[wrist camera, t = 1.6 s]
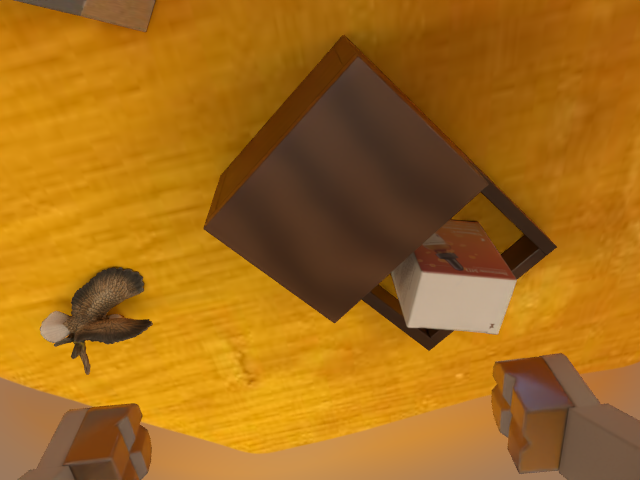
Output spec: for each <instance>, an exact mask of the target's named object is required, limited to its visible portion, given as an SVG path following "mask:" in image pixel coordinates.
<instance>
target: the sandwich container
mask: <svg viewBox="0 0 640 480" xmlns="http://www.w3.org/2000/svg"><path fill="white" fill-rule="evenodd" d="M14 1H19V2H23V3H27V4H32V5H36V6H40V7H44V8H49V9H53V10H57V11H61V12H66V13H70V14H74V15H79V16H83V17H87V18H91V19H95V20H99V21H103V22H107V23H111V24H115V25H119V26H123V27H127V28H131V29H135V30H139V31H143V32H146V30H147V26H148V23H149V20H150V17H151V13H152V10H153V7H154V3H155V0H14Z"/></svg>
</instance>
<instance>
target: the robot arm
mask: <svg viewBox="0 0 640 480" xmlns="http://www.w3.org/2000/svg"><path fill="white" fill-rule="evenodd" d="M493 377H494V379H495V381H496V383H497V385H496V386H495V387H494V388H493V390H492V400H491V402H492V409H493V415H494V417H495V421H496V423H497V426H498V429H499V431H500V432H501V433H502V434H503V435H505V436H506V437H508V450H509V453H510V455H511V457H512V459H513V461H514V464H515V466H516V468H517V470H518V472H519V474H524V473H535V472H547V471H558V470H559V473H560V474H561V475H563V476H564V477H565V478H566V479H567V480H640V421H639V420H637V419H635V418H633V417H632V416H630V415H628V414H626V413H624V412H622V411H620V410H619V409H617V408H615V407H613V406H611V405H609V404H600V402H599V401H598V399H597V398H596V397H595V395H594V394H593V393H592V391H591V390H590V389H589V387H588V386H587V384H586V383H585V382H584V380H583V379H582V377H581V376H580V375H579V373H578V372H577V371H576V369H575V368H574V366H573V365H572V364H571V362H570V361H569V360H568V358H567V357H566V356H565V355H564V354H562V353H559V354H552V355H544V356H539V357H531V358H522V359H514V360H506V361H498V362H495V364H494V367H493ZM141 419H142V413H141V411H140V408H139V406H138V405H137V404H134V403H132V404H121V405H110V406H99V407H91V408H83V409H71V410H69V411H67V412H66V413H65V414H64V415H63V417H62V419H61V421H60V423H59V425H58V427H57V429H56V431H55V433H54V435H53V437H52V439H51V441H50V443H49V445H48V447H47V449H46V451H45V453H44V455H43V457H42V459H41V461H40V463H39V465H38V467H37V469H33V470H29V471H28V472H26V473H25V474H24V475H23V476H21V477H20V478H19V479H18V480H141V479H142V478H143V477H144V476H145V475H146V474H147V473H148V471H149V466H150V463H151V449H152V447H151V440H150V436H149V433H148V430H147V429H145V428H144V427H143V426H141V425H140V422H141Z"/></svg>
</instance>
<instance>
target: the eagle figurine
mask: <svg viewBox="0 0 640 480" xmlns="http://www.w3.org/2000/svg"><path fill="white" fill-rule="evenodd" d="M142 280H143V277H142V276H140V275H139V272H132V270H131V269H125V270H123V268H121V267H120V268H118V269H116V268H115V267H112V268H108V269H107V270H102V271H101V272H99V273H97V275H96V276H95V277H93V278H92V279H90V281H89V282H88V283H86V284H85V285H84V286H83V287H82V288H80V289H79V290H77V291H76V293H75V294H74V297H73V298H72V302H71V304H72V312H71V314H72V316H69V315H66V314H64V313H62V312H59V311H54V312H53V313H51V314H50V315H49V316H48V317H47V318H46V319H45V320H44V321H43V322H42V325H41V327H40V331H41V335H42V336H43V337H44V338H45V339H46V340H47V341H49V342H52V343H55V344H54V346H55V347H56V346H59V345H62V344H65V343H71V342H73V343H74V344H75V346H74V349H73V352H72V355H71V357H72V359H74V358H76V357H77V356H78V355H80V357H81V359H82V361H83V364H84V370H85V373H86V374H87V375H88V374H89V373H90V364H89V360H88V356H87V354H86V346H85V340H90V341H92V342H93V341H99V342H104V343H105V344H110V343H111V344H113V343H114V342H119V341H124V340H127V339H130V338H133V337H136V336H137V335H139V334H141V333H142V332H143V331H145V330H147V329H148V327H150V326H152V325H153V323H152V321H149V319H147V320H134V319H128V318H124V317H123V316H120V315H119V314H113V315H106V314H107V312H108V311H109V310H110V309H111V308H113V307H114V306H116V305H117V304H119V303H121V302H122V301H124V300H125V299H128V298H130V297H133V296H135V295H137V294H140V293H141V292H143V291H144V289H143V285H144V283H143V282H142ZM68 335H69V336H68ZM66 336H68V337H67V338H65V337H66ZM63 338H64V339H63ZM62 339H63V340H62Z"/></svg>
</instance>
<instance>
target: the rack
mask: <svg viewBox="0 0 640 480" xmlns="http://www.w3.org/2000/svg"><path fill="white" fill-rule="evenodd" d="M480 192H481V193H483V194H484V195H485V196H486V197H487V198H488V199H489V200H490V201H491V202H492V203H493V204H494V205H495V206H496V207H497V208H498V209H499V210H500V211H501V212H502V213H503V214H504V215H505V216H506V217H507V218H508V219H509V220H510V221H511V222H512V223H514V224H515V225H516V226H517V227H518V228H519V229H520V230H521V231H522V232H523V233H524V234H525V236H523V237H522V238H521V239H520V240H519V241H517V242H516V243H515V244H514V245H513V246H512V247H510V248H509V249H508V250H507V251H506V252H504V253H503V254H502V255H501V257H502V258H503V260H504V261H505V263H506V264H507V266H508V267H509V269H510V270H511V272H512V273H513V275H514V276H515V278H516V279H518V278H519V277H521V276H522V275H523V274H524V273H526V272H527V271H528V270H529V269H530V268H532V267H533V266H534V265H535V264H537V263H538V262H539V261H540V260H542V259H543V258H544V257H545V256H546V255H548V254H549V253H550V252H552V251H553V250H554V249H555V248H557V246H556V245H555V244H554V243H553V242H552V241H551V240H550V239H549V238H548V237H547V235H546V234H545V233H544V232H543V231H542V230H541V229H540V228H539V227H538V226H537V225H536V224H535V223H534V222H533V221H532V220H531V219H530V218H529V217H528V216H527V215H526V214H525V213H524V212H523V211H522V210H521V209H520V208H519V207H518V206H517V205H515V204H514V203H513V202H512V201H511V200H510V199H509V198H508V197H507V196H506V195H505V194H504V193H503V192H502V191H501V190H500V189H499V188H498V187H497V186H496V185H495V184H494V183H493V182H492V181H491V180H490V179H489V178H488V177H487V176H486V175H485V174H484V173H483V172H482V171H481V170H480V169H479V168H478V167H477V166H476V165H475V164H474V163H473V162H472V161H471V160H470V159H469V158H468V157H467V156H466V155H465V154H464V153H463V152H462V151H461V150H460V149H459V148H458V147H457V146H456V145H455V144H454V143H453V142H452V141H451V140H450V139H449V138H448V137H447V136H446V135H445V134H444V133H443V132H442V131H441V130H440V129H439V128H438V127H437V126H436V125H435V124H434V123H433V122H432V121H431V120H430V119H429V118H428V117H427V116H426V115H425V114H424V113H423V112H422V111H421V110H420V109H419V108H418V107H417V106H416V105H414V104H413V103H412V102H411V101H410V100H409V99H408V98H407V97H406V96H405V95H404V94H403V93H402V92H401V91H400V90H399V89H398V88H397V87H396V86H395V85H394V84H393V83H392V82H391V81H390V80H389V79H388V78H387V77H386V76H385V75H384V74H383V73H382V72H381V71H380V70H379V69H378V68H377V67H376V66H375V65H374V64H373V63H372V62H371V61H370V60H369V59H368V58H367V57H366V56H365V55H364V54H363V53H362V52H361V51H360V50H359V49H358V48H357V47H356V46H355V45H354V44H353V43H352V42H351V41H350V40H349V39H348V38H347V37H346V36H345V35H343V36H342V37H341V38H340V39H339V40H338V41H337V43H336V44H335V45H334V47H332V48H331V49H330V51H329V52H328V53H327V54H326V55H325V56H324V57H323V59H322V60H321V61H320V62H319V63H318V64H317V65H316V67H315V68H314V69H313V70H312V71H311V72H310V74H309V75H308V76H307V77H306V78H305V79H304V80H303V82H302V83H301V84H300V85H299V86H298V87H297V88H296V90H295V91H294V92H293V93H292V94H291V95H290V96H289V98H288V99H287V100H286V101H285V102H284V103H283V105H282V106H281V107H280V108H279V109H278V110H277V111H276V113H275V114H274V115H273V116H272V117H271V118H270V119H269V121H268V122H267V123H266V124H265V125H264V126H263V127H262V129H261V130H260V131H259V132H258V133H257V134H256V135H255V137H254V138H253V139H252V140H251V141H250V142H249V144H248V145H247V146H246V147H245V148H244V149H243V150H242V152H241V153H240V154H239V155H238V156H237V157H236V158H235V160H234V161H233V162H232V163H231V164H230V165H229V167H228V168H227V169H226V170H225V171H224V172H223V173H222V175H221V176H220V179H219V182H218V185H217V188H216V191H215V194H214V198H213V201H212V204H211V207H210V210H209V213H208V216H207V219H206V222H205V225H204V228H203V229H204V230H206V231H207V232H208V233H210V234H211V235H213V236H214V237H215V238H217V239H218V240H220V241H221V242H222V243H224V244H225V245H226V246H228V247H229V248H231V249H232V250H233V251H235V252H236V253H238V254H239V255H240V256H242V257H243V258H244V259H246V260H247V261H249V262H250V263H251V264H253V265H254V266H256V267H257V268H258V269H260V270H261V271H263V272H264V273H265V274H267V275H268V276H269V277H271V278H272V279H274V280H275V281H276V282H278V283H279V284H281V285H282V286H283V287H285V288H286V289H288V290H289V291H290V292H292V293H293V294H294V295H296V296H297V297H299V298H300V299H301V300H303V301H304V302H306V303H307V304H308V305H310V306H311V307H312V308H314V309H315V310H317V311H318V312H319V313H321V314H322V315H324V316H325V317H326V318H328V319H329V320H331V321H332V322H333V323H336V322H337V321H338V320H339V319H340V318H341V317H342V316H343V315H345V314H346V313H347V312H348V311H349V310H350V309H351V308H352V307H353V306H354V305H356V304H357V303H358V302H359V301H360V300H361V299H362V300H363V301H364V302H366V303H367V304H368V305H370V306H371V307H372V308H374V309H375V310H376V311H377V312H379V313H380V314H381V315H383V316H384V317H385V318H387V319H388V320H389V321H391V322H392V323H393V324H395V325H396V326H397V327H398V328H400V329H401V330H402V331H404V332H405V333H406V334H408V335H409V336H410V337H412V338H413V339H414V340H416V341H417V342H418V343H420V344H421V345H422V346H423V347H425V348H426V349H427V350H429V351H430V350H431V349H432V348H433V347H435V346H436V345H437V343H439V342H441V341H442V340H443V339H444V338H445V337H447V336H448V335H449V334H450V333H452V332H453V331H454V330H446V329H431V328H408V327H407V326H406V322H405V319H404V315H403V312H402V309H401V305H400V302H399V301H398V300H397V299H396V298H395V297H393V296H392V295H391V294H390V293H388V292H387V291H386V290H384V289H383V288H382V287H381V286H379V285H378V284H379V283H380V282H381V281H382V280H383V279H384V278H385V277H387V276H388V275H389V274H390V273H391V272H392V271H393V270H394V269H395V268H397V267H398V266H399V265H400V264H401V263H402V262H403V261H404V260H405V259H407V258H408V257H409V256H410V255H411V254H412V253H413V252H414V251H415V250H417V249H418V248H419V247H420V246H421V245H422V244H423V243H424V242H425V241H426V240H428V239H429V238H430V237H431V236H432V235H433V234H434V233H435V232H436V231H438V230H439V229H440V228H441V227H442V226H443V225H444V224H445V223H446V222H448V221H449V220H450V219H451V218H452V217H453V216H454V215H455V214H456V213H457V212H459V211H460V210H461V209H462V208H463V207H464V206H465V205H466V204H467V203H469V202H470V201H471V200H472V199H473V198H474V197H475V196H476V195H477V194H479V193H480Z"/></svg>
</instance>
